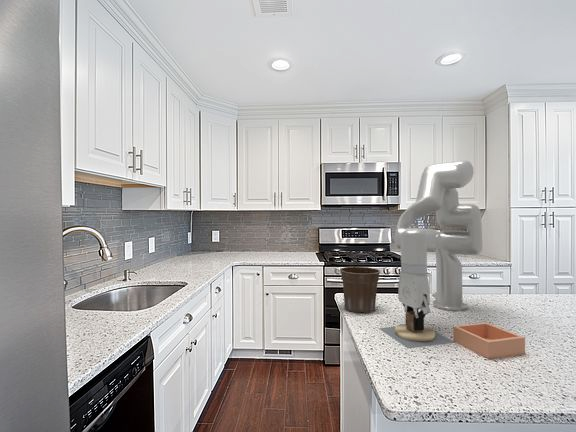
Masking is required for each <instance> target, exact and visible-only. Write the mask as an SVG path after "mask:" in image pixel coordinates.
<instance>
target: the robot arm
mask: <svg viewBox="0 0 576 432" xmlns="http://www.w3.org/2000/svg"><path fill="white" fill-rule="evenodd" d="M473 177H474V166H473V164H472V163H471V162H470V161H469V160H458V161H449V162H439V163H434V164H429V165H427V166H425V167H424V169H423V172H422V173H421V177H420V180H419V185H418V191H417V195H416V200H415V202H413V203H412V204H411V205H410V206H409V207H407V208H406V209H405V210H404V212H403V213H401V215H400V216H399V218H398V221H397V224H396V229H395V234H394V243H395V246H396V247H397V248H398V249H400V266H401V267H400V268H401V269H400V270H401V271H400V273H399V277H398V278H399V279H398V290H397V291H398V294H397V296H398V301H399V302H400V303H401V304H402V307H403V308H404V309H403V310H404V311H403V312H404V313H405V314H406V312H411V311H415V317H414V330H415V331H419V330H424V326H425V318H426V315H428V314H429V313H431V312H432V311H431V308H430V304H431V297H433V298H434V299H435V300H433V301H432V306H433V307H435V308H437V309H440V310H447V311H454V312H457V311H459V312H460V311H465V310H467V309H468V305H467V304H465V303H463V265H462V262H461V260H460V259H459V258H458V256H456V255H465V256H477V255H479V254H481V252H482V250H483V229H482V225H483V224H482V212H481V209H480V208H479V206H478V205H476V204H472V203H467V204H465V203H463V204H461V203H460V202H459V201H460V200H459V191H458V190H457V189H462V188H464V187H466V186H467V185H468V184H469V183H471V181H472V180H473ZM434 213H435V218H436V223H437V225H438V226H439V227H441V228H447V229H449V228H451V229H455V228H456V229H465V230H440V231H438V230H436V229H433V228H419V227H417V228H416V227H413V228H412V227H411V228H410V226H411V225H412V224H413V223H414V222H416V221H417V220H419V219H422V218H425V217H426V216H429V215H432V214H434ZM429 252H430V253H433V252H435V266H436V276H435V277H436V281H435V282H436V291H435V292H434V293H432V294H431V293H430V282H429V278H428V253H429ZM430 294H431V295H430ZM406 326H407V325H406Z"/></svg>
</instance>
